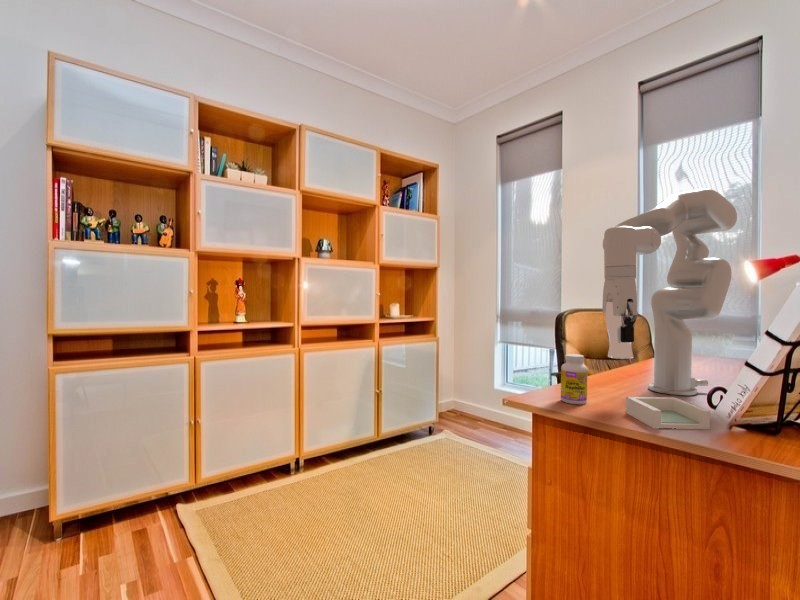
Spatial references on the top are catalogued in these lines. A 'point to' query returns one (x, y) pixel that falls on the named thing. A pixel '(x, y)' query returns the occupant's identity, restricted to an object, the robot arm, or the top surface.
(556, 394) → the top surface
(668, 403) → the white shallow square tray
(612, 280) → the robot arm
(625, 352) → the beer glass
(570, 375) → the supplement bottle
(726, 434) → the top surface
